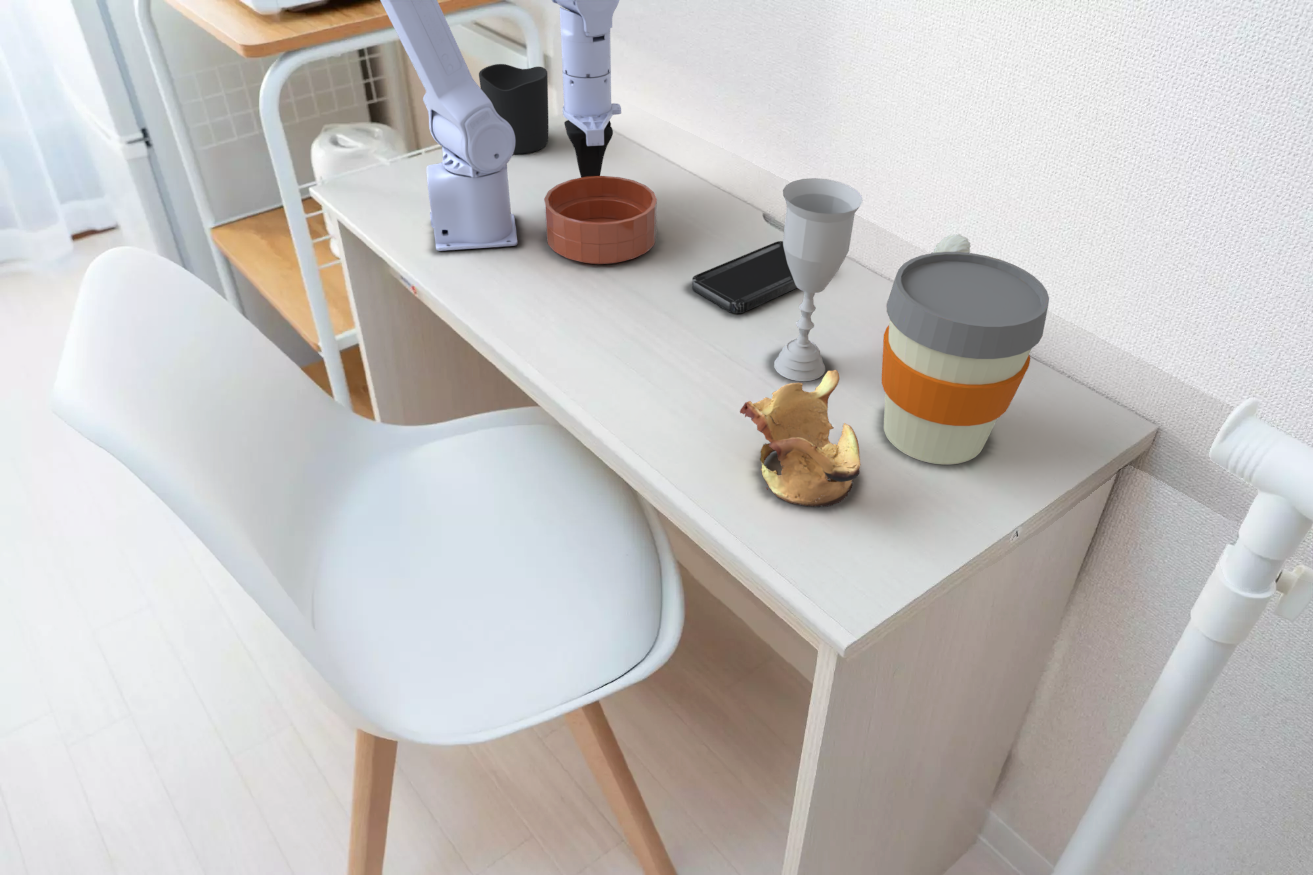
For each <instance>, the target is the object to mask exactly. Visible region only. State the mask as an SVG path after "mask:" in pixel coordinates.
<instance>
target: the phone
mask: <svg viewBox="0 0 1313 875" xmlns="http://www.w3.org/2000/svg"><path fill="white" fill-rule="evenodd" d="M691 289H692V290H693V292H695V293H697V294H699V296H702V297H704V298H705V299H707V300H709V301H710V302H712V303H714V304H716V305H717V306H719V307H720V308H722V309H724V310H726V311H727V312H730V313H732V314H742V313H745V312H748V311H750V310H752V309H754V308H756V307H758V306H761V305H763V304H765V303H767V302H770V301H771V300H774V299H777V298H778V297H781V296H782V295H785V294H787V293H789V292H791V291H793V290H795V289H798V288H797V286H796V284H795V282H794V279H793V277H792V274H791V272H790V269H789V266H788V264H787V259H786V255H785V251H784V247H783V240H778V241H775V242H771V243H770V244H767V245H765V246H762V247H760V248H758V249H755V250H753V251H750V252H748V253H746V254H744V255H741V256H738V257H736V258H734V259H731V260H729V261H727V262H724V263H722V264H719V265H717V266H714V267H712V268H710V269H707V270H705V271H702V272H700V273H697V274H695V275H694V276H692V280H691Z"/></svg>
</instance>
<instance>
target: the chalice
mask: <svg viewBox="0 0 1313 875" xmlns="http://www.w3.org/2000/svg"><path fill="white" fill-rule="evenodd" d="M782 196H783V199H784V201H785V204H786V211H785V218H784V219H785V220H784V228H783V237H782V241H783V247H784V251H785V255H786V259H787V264H788V266H789V269H790V272H791V274H792V277H793V279H794V282H795V284H796V286H797V288H796V289H799V291H802V292H803V299H802V302H801V303H800V304H799V306H798V308H799V310H800V312H801V316H800V318H799V319H798V320H797V321H796V322H795V325H796V326H797V328H798V337H797V338H796V339H793V340H790V341H788V342H787V343H786V344H784V346H783V347H782V350H780V352H779V354H778V356H777V357H776V358H775V360H774V362H773V368H774V370H775V372H777V374H779V375H780V376H781V377H783V378H786V379H788V380H791V381H795V382H810V381H811V382H812V381H814V380H818V379H819V378H821V377H822V376H823V375H825V372H826V365H825V364H824V362H823V357H822V355H821V350H820V348H819V347H818V345H817V344H816V343H815V342H813V341H811V340H809V335H810V331H811V330H812V329H814V328H815V323H814V322H813V321H812V315H813V313H814V312H815V311H816V309H817V307H816V306H815V304H814V303H815V302H814V297H815V294H818V293H821V292H824V290H825V289H826V288H827V286H828V285H829V284H830V282H831V281H832V280H833V278H834V277H835V276H836V274H838V272H839V270H840V268H841V266H842V264H843V263H844V260H846V258H847V255H848V254H849V251H850V245H851V239H852V233H853V227H854V221H855V215H856V212H858V210H859V208H860V207H861V205H862V203H863V201H864V200H863V195H862V194H861V193H860V192H859V191H858V190H857V189H856V188H855V187H853V186H851V185H849V184H847V183H844V182H841V181H837V180H834V179H829V178H818V177H810V178H801V179H797V180H793V181H791V182H789V183H787V184H786V185H785V186H784V187H783V189H782Z"/></svg>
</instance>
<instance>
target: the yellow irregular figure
mask: <svg viewBox="0 0 1313 875" xmlns="http://www.w3.org/2000/svg"><path fill="white" fill-rule="evenodd" d="M839 382H840V373H839V371H838V370H837V369H834V370H827V372H826V373H825V374H824V376H823V377H822V379H821V382H820V383H819V385H817V386H816V387H815V390H814V391H807V390H804V389H803V385H804V384H803V383H802V382H801V381H798V382H790V383H787V384H784V385H782V386H780V388H778V389H777V390H775V391H773V392H772V393H771V395H772V397H771V398H770V397H763V399H761V400H758V401H757V402H754V403H753V401H751V400H748V401H746V402H744V403H743V406H742V407H741V408H740V409H739V413H740V414H742V415H744V418H746V417H748V418H749V419H750V420H751V422H752V423H754V424H755V425H756V430H757V431H758V432H760V433H761V434H763V435H764V438H765V440H767V441H768V442H769V443H763V444H762V447H761V449H760V458H759V460H760V462H761V468H759V471H761V474H762V478H763V480H764V482H765V483H766V485H767V486H768V487H765V489H766V491H768V490H769V489H770V491H771V492H772V493H773V494H774V495H775V496H776V497H777V499H778V498H780V500H783V501H785V502H787V503H789V504H794V505H800V506H803V507H813V508H814V507H818V508H820V507H831V506H834V505H836V504H840V503H841V502H842V501H843V500H844V499H846V498H847V497H849V496H848V495H849V493H851V491H852V489H853V487H854V485H853V484H854V483H853V482H854V480H855V479H856V478H857V477H858V476H859V475H860V469H861V465H862V464H861V456H860V445H859V440H858V437H857V434H856V431H855V430H854V428H853V427H852V426H851V425H849V424H848V423H846V422H844V423H843V425H842V429H841V430H842V431H841V435H840V437H839V439H838V442H837V443H832V442H831V441H830V438H829V437H830V431H831V430H833V429H834V428H835V427H834V426H833V425H832V423H831V422H830V420H829V415H828V410H829V409H828V408H829V399H830V396H831V395H832V393H833V392H834V391H835V390H836V388H837V386H838V384H839ZM773 452H775V453H776V459H777V461H778V462H780V466H781V470H780V471H781V473H780V475H779V474H778V471H777V470H771V469H769V468H768V467H767V465H766V464H765V461H766V460H767V458H768V457H769V456H770V455H771V454H772V453H773Z"/></svg>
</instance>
